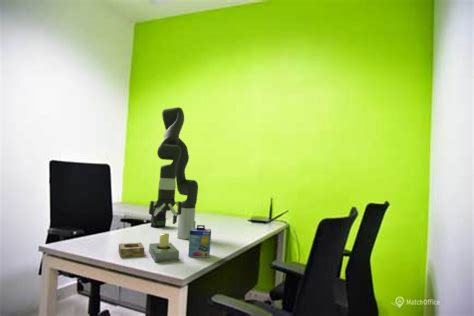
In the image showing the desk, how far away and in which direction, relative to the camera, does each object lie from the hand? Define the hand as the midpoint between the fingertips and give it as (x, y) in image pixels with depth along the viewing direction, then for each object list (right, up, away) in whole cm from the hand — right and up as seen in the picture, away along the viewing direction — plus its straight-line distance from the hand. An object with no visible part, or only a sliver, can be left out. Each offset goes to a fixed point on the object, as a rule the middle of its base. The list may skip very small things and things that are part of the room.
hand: (164, 224), depth 142 cm
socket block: (-16, -14, +1) cm, 21 cm away
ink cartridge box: (+15, -16, +4) cm, 22 cm away
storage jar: (-19, -16, +66) cm, 70 cm away
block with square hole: (0, -15, 0) cm, 15 cm away
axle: (0, -15, 0) cm, 15 cm away
